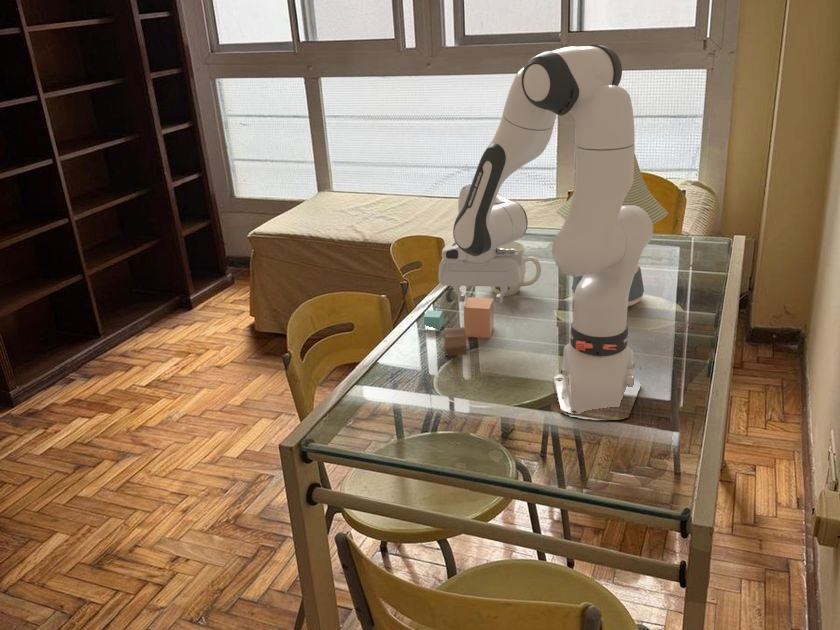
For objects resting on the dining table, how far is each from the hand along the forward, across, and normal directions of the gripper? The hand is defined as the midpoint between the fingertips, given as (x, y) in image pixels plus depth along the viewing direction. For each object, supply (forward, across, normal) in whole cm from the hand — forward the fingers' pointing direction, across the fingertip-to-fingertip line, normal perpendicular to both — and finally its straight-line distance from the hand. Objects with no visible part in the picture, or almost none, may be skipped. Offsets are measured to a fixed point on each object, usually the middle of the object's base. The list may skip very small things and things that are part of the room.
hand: (480, 301), depth 199 cm
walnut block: (+9, +5, +10) cm, 14 cm away
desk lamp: (+9, -30, -25) cm, 40 cm away
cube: (+8, +13, -2) cm, 15 cm away
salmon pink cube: (+8, +1, 0) cm, 9 cm away
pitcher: (+8, -3, -28) cm, 29 cm away
